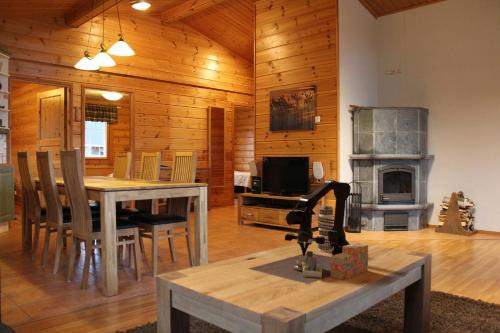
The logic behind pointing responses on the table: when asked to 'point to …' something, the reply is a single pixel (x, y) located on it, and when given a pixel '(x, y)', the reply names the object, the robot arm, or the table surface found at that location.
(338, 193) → the robot arm
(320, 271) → the tray
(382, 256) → the table surface
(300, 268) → the crank base
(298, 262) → the crank
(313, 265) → the dark metal cylinder
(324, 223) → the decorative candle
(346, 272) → the stack of blocks
